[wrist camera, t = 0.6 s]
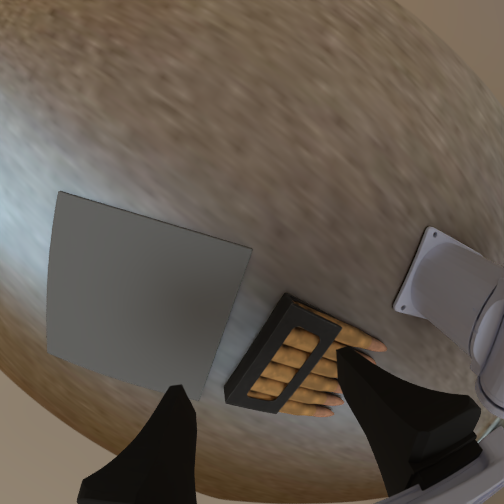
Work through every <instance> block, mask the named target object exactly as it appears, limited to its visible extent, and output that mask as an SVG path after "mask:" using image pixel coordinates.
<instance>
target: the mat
mask: <svg viewBox="0 0 504 504" xmlns="http://www.w3.org/2000/svg"><path fill="white" fill-rule="evenodd" d="M252 250H253V249H252V248H249V247H245V246H242V245H239V244H236V243H232V242H229V241H226V240H222V239H219V238H216V237H212V236H209V235H206V234H202V233H199V232H196V231H192V230H189V229H186V228H182V227H179V226H176V225H172V224H169V223H166V222H162V221H159V220H156V219H152V218H149V217H146V216H142V215H139V214H136V213H132V212H129V211H126V210H122V209H119V208H115V207H112V206H109V205H105V204H102V203H99V202H95V201H92V200H89V199H85V198H82V197H78V196H75V195H72V194H68V193H65V192H62V191H59V192H58V196H57V202H56V207H55V214H54V220H53V227H52V235H51V243H50V253H49V264H48V279H47V309H46V322H47V352H48V353H49V354H51V355H54V356H56V357H58V358H61V359H63V360H66V361H68V362H71V363H73V364H76V365H78V366H81V367H84V368H86V369H89V370H92V371H95V372H97V373H100V374H103V375H106V376H109V377H112V378H115V379H118V380H121V381H124V382H128V383H131V384H134V385H137V386H141V387H144V388H148V389H152V390H155V391H159V392H163V393H166V391H167V390H168V388H169V386H173V385H180V384H182V385H183V387H184V389H185V392H186V394H187V396H188V398H189V399H192V400H197V401H199V399H200V396H201V394H202V391H203V388H204V385H205V382H206V380H207V377H208V374H209V371H210V368H211V366H212V363H213V360H214V357H215V354H216V351H217V349H218V346H219V343H220V340H221V337H222V335H223V332H224V329H225V326H226V323H227V321H228V318H229V315H230V312H231V309H232V306H233V304H234V301H235V298H236V295H237V292H238V290H239V287H240V284H241V281H242V278H243V276H244V273H245V270H246V267H247V264H248V261H249V259H250V256H251V253H252Z"/></svg>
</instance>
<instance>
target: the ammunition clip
mask: <svg viewBox="0 0 504 504" xmlns="http://www.w3.org/2000/svg"><path fill="white" fill-rule="evenodd" d="M337 341H338V342H337ZM340 342H341V343H340ZM345 344H346V345H345ZM348 345H349V346H353V347H360V348H363V349H368V350H371V351H377V352H383V351H386V350H387V347H386V346H385V345H384V344H383V343H382V342H380V341H379V340H377V339H375V338H373V337H371V336H369V335H367V334H365V333H364V332H362V331H361V330H360V329H358V328H356V327H353V326H351V325H349V324H346V323H344V322H342V321H339V320H337V319H335V318H334V317H333V316H331V315H329V314H327V313H325V312H323V311H321V310H319V309H317V308H315V307H313V306H311V305H309V304H307V303H305V302H303V301H301V300H299V299H297V298H295V297H293V296H292V295H290V294H288V293H284V295H283V297H282V298H281V300H280V302H279V303H278V305H277V306H276V308H275V310H274V311H273V313H272V314H271V316H270V318H269V319H268V321H267V322H266V324H265V326H264V327H263V329H262V330H261V332H260V333H259V335H258V337H257V338H256V340H255V341H254V343H253V344H252V346H251V347H250V349H249V350H248V352H247V354H246V355H245V357H244V358H243V360H242V361H241V363H240V364H239V366H238V367H237V369H236V370H235V372H234V373H233V375H232V376H231V378H230V379H229V381H228V382H227V384H226V385H225V387H224V394H225V402H226V404H230V405H235V406H239V407H243V408H248V409H253V410H258V411H263V412H268V413H273V414H277V413H278V412H283V413H288V414H293V415H307V416H316V417H328V416H332V415H334V413H333V412H332V411H331V410H329V409H327V408H325V407H322V406H318V405H315V404H323V405H330V406H336V405H342V404H344V401H343V400H342V399H340V398H338V397H336V396H334V395H331V394H328V393H325V392H321V391H328V392H335V393H342V390H341V388H340V385H339V383H338V381H337V380H335V379H332V378H338V376H337V358H336V349H340V348H343V347H346V346H348ZM355 351H356V350H355ZM356 352H358V351H356ZM358 353H359V354H361V355H362V356H363V357H365V358H366V359H368V360H369V361H371V362H372V363H374V364H375V365H376V362H375V361H374V360H373V359H372V358H370V357H369V356H367V355H365V354H363V353H360V352H358ZM329 377H331V378H329Z"/></svg>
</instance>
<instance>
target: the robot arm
mask: <svg viewBox="0 0 504 504" xmlns="http://www.w3.org/2000/svg"><path fill="white" fill-rule="evenodd" d="M434 232H435V234H434ZM433 234H434V236H433ZM402 306H403V307H402ZM401 307H402V308H401ZM393 309H394V310H395V311H397V312H401V313H405V314H409V315H412V316H416V317H420V318H424V319H428V320H429V321H430V322H431V323H432V324H433V325H435V326H436V327H437V328H438V329H439V330H440V331H442V332H443V333H444V334H445V335H446V336H447V337H448V338H450V339H451V340H452V341H453V342H454V343H455V344H456V345H457V346H459V347H460V348H461V349H462V350H463V351H464V352H465V353H466V354H467V355H469V356H470V357H471V358H472V362H471V365H470V369H471V370H472V371H473V372H474V373H475V374H476V375H477V376H478V377H477V379H476V382H475V390H476V394H477V396H478V398H479V400H480V402H481V403H482V404H483V406H484V407H485V408H486V409H487V410H488V411H489V412H490V413H492V414H493V415H495V416H497V417H499V418H502V419H504V267H503V266H501V265H499V264H496V263H494V262H492V261H490V260H488V259H486V258H484V257H483V256H482V255H481V254H479V253H478V252H476V251H474V250H473V249H471V248H469V247H468V246H466V245H464V244H462V243H461V242H459V241H457V240H455V239H454V238H452V237H450V236H448V235H446V234H445V233H443V232H441V231H439V230H437V229H435V228H434V227H431V226H429V227H427V228H426V230H425V233H424V236H423V238H422V241H421V243H420V246H419V248H418V251H417V253H416V256H415V258H414V260H413V263H412V265H411V267H410V270H409V272H408V274H407V276H406V279H405V281H404V283H403V285H402V287H401V290H400V292H399V294H398V296H397V298H396V300H395V302H394V304H393ZM336 358H337V376H338V383H339V385H340V388H341V390H342V393H343V395H344V397H345V399H346V401H347V403H348V405H349V406H350V408H351V410H352V412H353V413H354V415H355V417H356V419H357V420H358V422H359V424H360V425H361V427H362V429H363V431H364V433H365V435H366V437H367V439H368V441H369V444H370V446H371V448H372V451H373V453H374V456H375V459H376V461H377V464H378V466H379V469H380V472H381V475H382V478H383V481H384V484H385V487H386V490H387V493H388V496H389V498H386V499H384V500H382V501H379V502H377V503H374V504H482V503H483V502H485V501H486V500H487V499H489V498H490V497H491V496H492V495H494V494H495V493H496V492H497V491H499V490H500V489H501V488H502V487H504V429H503V427H502V426H499V427H498V428H497V429H495V430H494V431H493V432H491V433H490V434H489V435H487V436H486V437H485V438H483V439H482V440H481V441H480V442H479V443H477V441H476V440H475V439H476V437H477V436H476V434H475V433H474V432H473V430H474V428H475V426H476V424H477V422H478V420H479V417H480V415H481V409H480V407H479V406H478V405H477V404H476V403H475V401H474V400H473V399H472V398H471V397H469V396H468V395H459V394H450V393H444V392H439V391H435V390H430V389H427V388H424V387H420V386H417V385H415V384H412V383H409V382H407V381H405V380H402V379H400V378H398V377H396V376H394V375H392V374H390V373H388V372H387V371H385V370H383V369H382V368H380V367H378V366H377V365H375V364H374V363H372V362H371V361H369V360H368V359H366V358H365V357H363V356H362V355H361V354H359V353H358V352H356V351H355V350H354V349H352V348H351V347H349V346H346V347H343V348H340V349H336ZM196 438H197V422H196V412H195V410H194V408H193V406H192V404H191V402H190V400H189V398H188V396H187V394H186V392H185V389H184V387H183V385H182V384H180V385H173V386H169V388H168V390H167V391H166V393H165V395H164V396H163V398H162V400H161V401H160V403H159V405H158V406H157V408H156V409H155V411H154V413H153V414H152V416H151V417H150V419H149V420H148V422H147V423H146V424H145V426H144V427H143V429H142V430H141V431H140V433H139V434H138V435H137V436H136V438H135V439H134V440H133V441H132V442H131V443H130V444H129V445H128V446H127V447H126V448H125V449H124V450H123V451H122V452H121V453H120V454H119V455H118V456H117V457H116V458H114V459H113V460H112V461H111V462H109V463H108V464H107V465H106V466H104V467H103V468H101V469H100V470H98V471H97V472H95V473H94V474H92V475H90V476H88V477H87V478H85V479H83V481H82V484H81V487H80V491H79V494H78V498H77V503H78V504H197V501H196V492H195V478H194V467H195V452H196Z"/></svg>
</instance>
